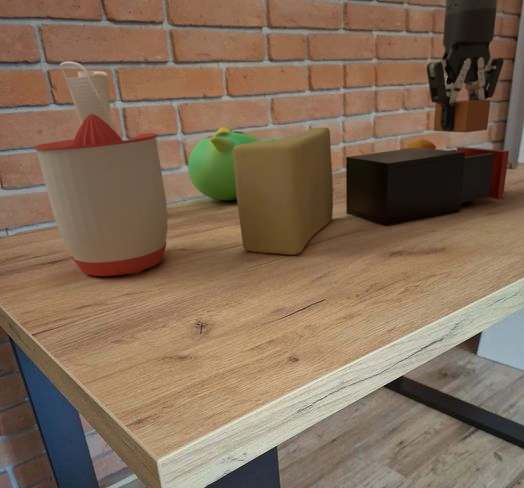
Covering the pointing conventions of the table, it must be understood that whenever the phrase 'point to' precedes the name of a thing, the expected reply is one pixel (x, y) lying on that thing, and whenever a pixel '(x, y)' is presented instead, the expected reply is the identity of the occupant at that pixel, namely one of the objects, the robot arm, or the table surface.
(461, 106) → the brown block
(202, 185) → the toy bird
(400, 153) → the cabinet
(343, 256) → the table surface
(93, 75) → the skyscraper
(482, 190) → the drawer
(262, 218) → the cheese
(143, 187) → the citrus juicer
